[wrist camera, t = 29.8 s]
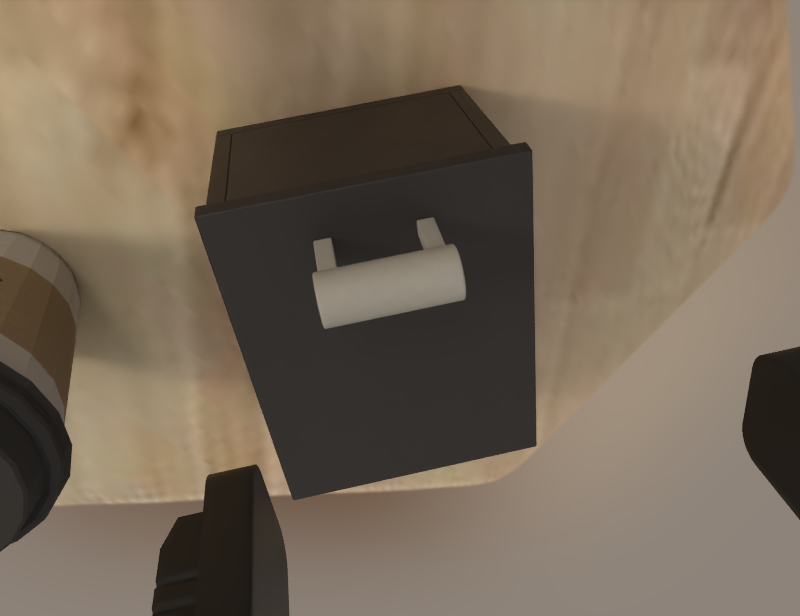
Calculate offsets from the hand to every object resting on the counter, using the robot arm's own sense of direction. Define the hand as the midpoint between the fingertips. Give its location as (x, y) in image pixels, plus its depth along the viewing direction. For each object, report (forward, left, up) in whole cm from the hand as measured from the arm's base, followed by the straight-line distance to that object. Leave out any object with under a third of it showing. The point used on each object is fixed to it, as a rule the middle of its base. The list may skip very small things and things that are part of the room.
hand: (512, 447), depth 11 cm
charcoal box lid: (+9, -6, -18) cm, 20 cm away
